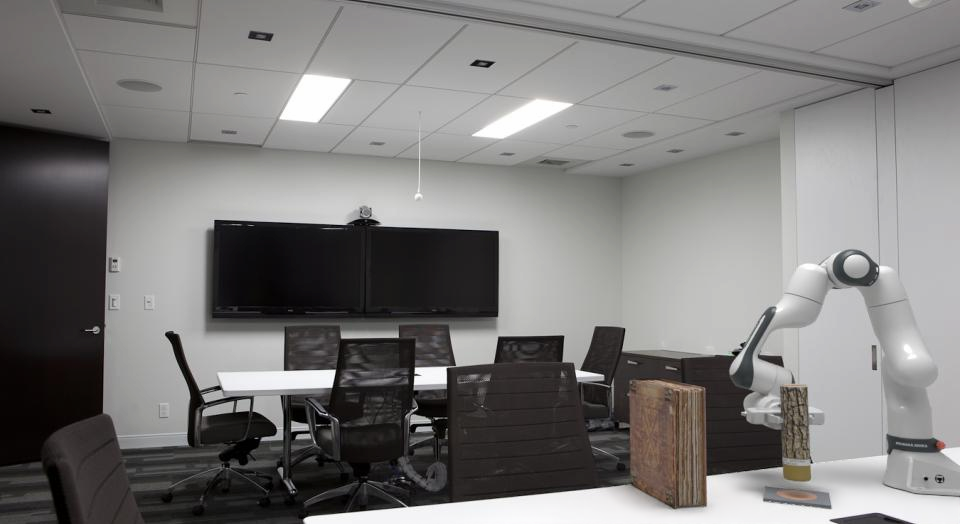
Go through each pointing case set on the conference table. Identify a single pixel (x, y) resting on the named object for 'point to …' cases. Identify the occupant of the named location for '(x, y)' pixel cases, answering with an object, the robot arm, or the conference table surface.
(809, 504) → the card
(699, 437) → the book
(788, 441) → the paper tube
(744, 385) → the robot arm
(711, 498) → the conference table surface
